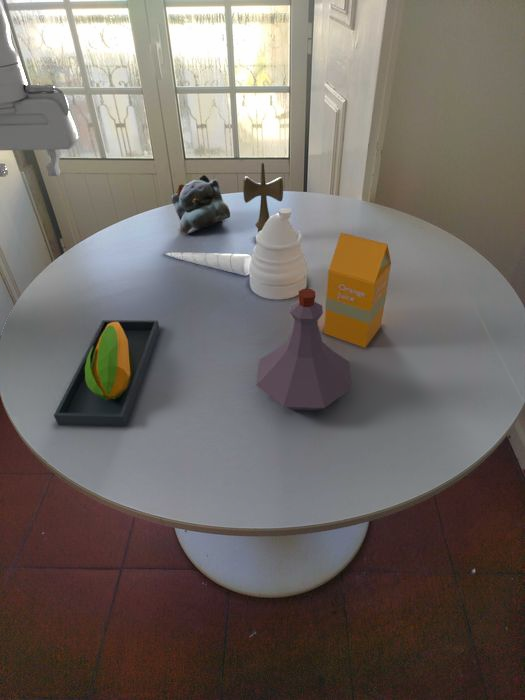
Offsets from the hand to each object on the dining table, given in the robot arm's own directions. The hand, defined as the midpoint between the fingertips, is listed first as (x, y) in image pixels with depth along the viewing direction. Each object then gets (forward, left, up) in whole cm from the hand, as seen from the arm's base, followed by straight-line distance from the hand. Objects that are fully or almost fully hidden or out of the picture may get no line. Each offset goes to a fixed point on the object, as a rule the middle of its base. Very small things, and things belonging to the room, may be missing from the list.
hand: (28, 175), depth 81 cm
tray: (+14, -19, -29) cm, 37 cm away
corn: (+14, -19, -29) cm, 37 cm away
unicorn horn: (+26, +19, -29) cm, 44 cm away
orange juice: (+58, -6, -29) cm, 65 cm away
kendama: (+39, +32, -29) cm, 58 cm away
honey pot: (+43, +11, -29) cm, 53 cm away
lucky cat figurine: (+21, +41, -29) cm, 55 cm away
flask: (+48, -23, -29) cm, 61 cm away
